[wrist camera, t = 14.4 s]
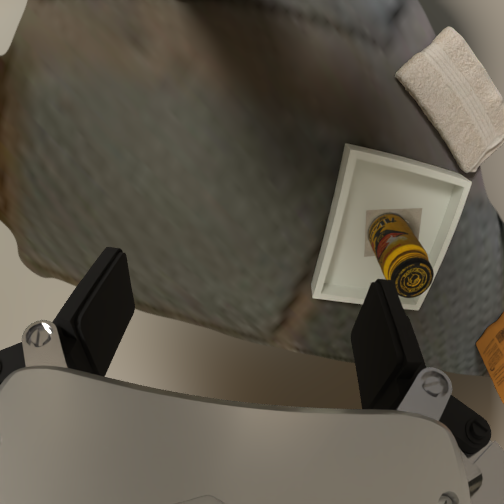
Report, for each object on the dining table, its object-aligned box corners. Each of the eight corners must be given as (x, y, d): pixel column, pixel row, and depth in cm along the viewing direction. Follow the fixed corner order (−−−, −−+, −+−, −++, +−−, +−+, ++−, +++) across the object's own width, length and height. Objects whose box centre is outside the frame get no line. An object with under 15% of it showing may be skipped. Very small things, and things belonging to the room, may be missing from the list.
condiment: (365, 209, 42) (390, 256, 31) (421, 207, 40) (458, 251, 30) (363, 256, 45) (382, 310, 35) (416, 252, 44) (445, 303, 34)
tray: (345, 143, 38) (350, 149, 35) (460, 173, 38) (471, 182, 35) (311, 283, 49) (312, 298, 46) (412, 296, 49) (418, 310, 46)
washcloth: (461, 174, 38) (471, 181, 36) (388, 74, 33) (396, 74, 30) (509, 128, 33) (521, 132, 30) (444, 26, 28) (454, 23, 25)
